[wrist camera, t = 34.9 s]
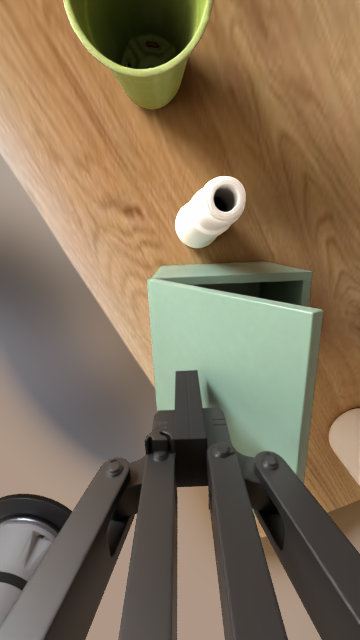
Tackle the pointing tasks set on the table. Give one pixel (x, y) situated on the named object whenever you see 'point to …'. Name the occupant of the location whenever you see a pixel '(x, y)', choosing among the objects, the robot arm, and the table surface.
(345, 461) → the cup
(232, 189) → the cosmetic bottle
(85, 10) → the plant pot
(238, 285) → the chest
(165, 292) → the lid
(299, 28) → the table surface
